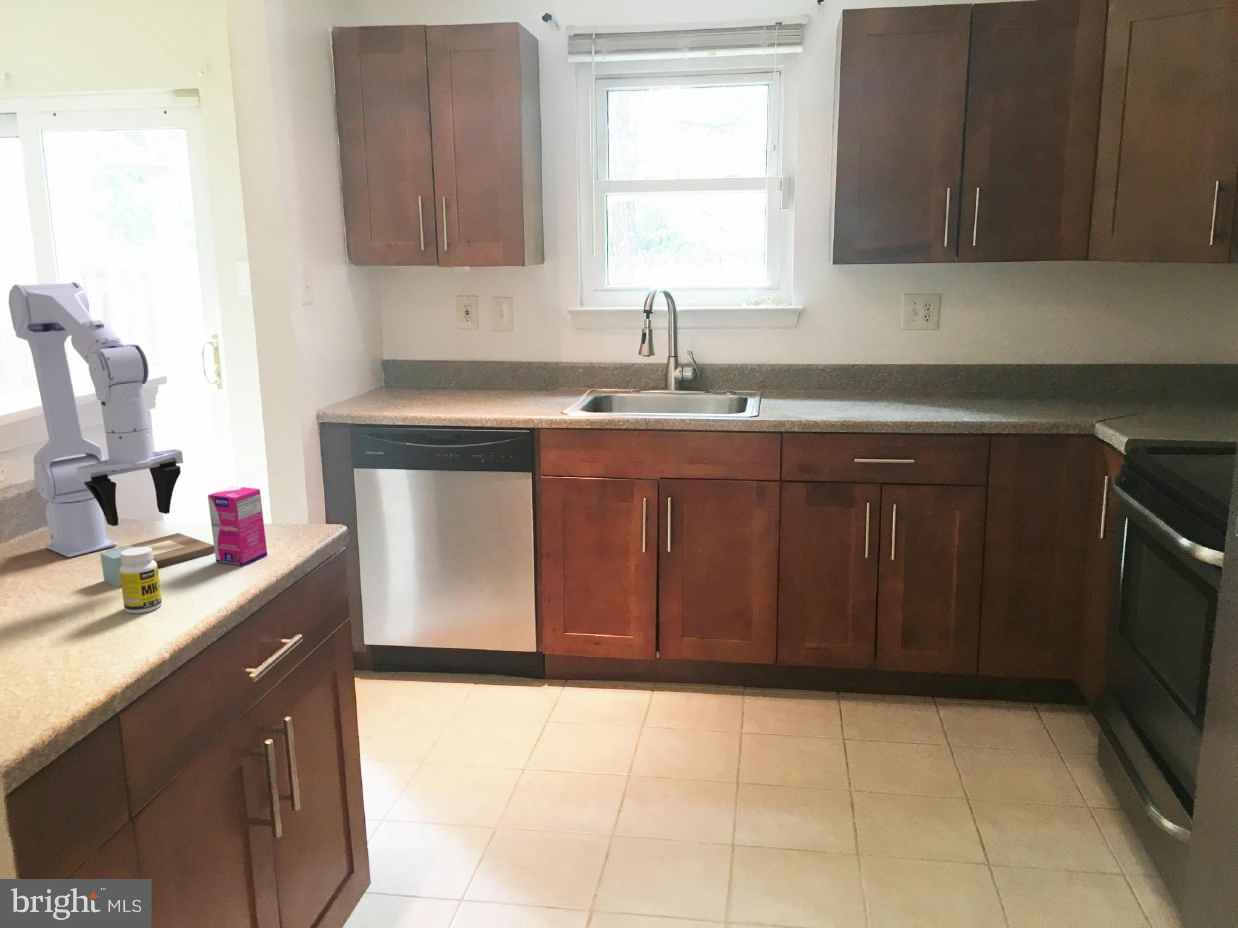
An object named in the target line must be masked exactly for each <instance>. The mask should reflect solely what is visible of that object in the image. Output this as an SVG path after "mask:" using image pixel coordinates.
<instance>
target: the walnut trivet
mask: <svg viewBox="0 0 1238 928" xmlns="http://www.w3.org/2000/svg"><path fill="white" fill-rule="evenodd" d="M127 546H133V547H150V548H152V552H153V559H152V560H153V561H155V562H156V563H157V568H158V569H160V568H165V567H168V566H172V565H175V564H178V563H182V562H186V561H189V560H194V559H197V558H200V557H203V556H204V557H205V556H208V555H211V554H215V550H214V544H211V543H209V542H206V541H203V540H200V539H197V538H194V537H191V536H188V535H185V534H182V533H180V532H177V533H173V534H168V535H166V536H165V535H164V536H161V537H157V538H153V539H148V540H144V541H141V542H136V543H132V544H129V545H124V546H122V547H118V548H113V549H109V550H108V551H111V550H115V549H119V548H123V547H127Z"/></svg>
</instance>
